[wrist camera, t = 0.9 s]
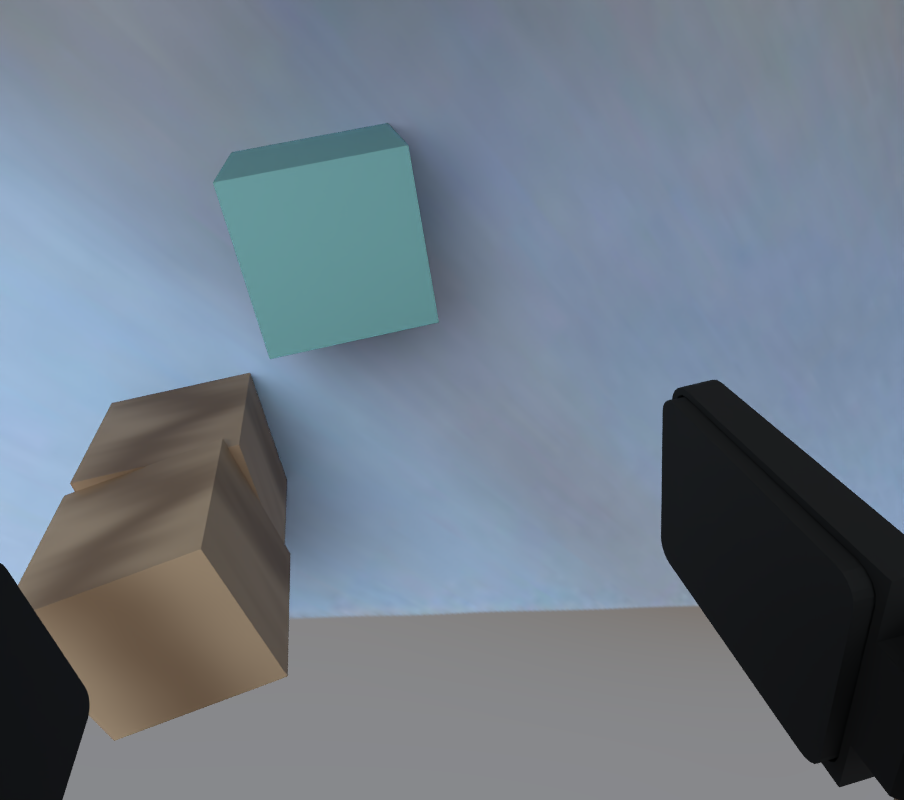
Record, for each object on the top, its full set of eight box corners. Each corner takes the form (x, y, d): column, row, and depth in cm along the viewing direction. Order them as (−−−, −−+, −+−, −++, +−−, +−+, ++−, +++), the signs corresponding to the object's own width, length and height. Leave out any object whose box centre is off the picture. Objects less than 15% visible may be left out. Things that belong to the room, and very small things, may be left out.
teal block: (387, 122, 26) (408, 145, 21) (414, 270, 29) (438, 322, 24) (231, 151, 25) (213, 182, 20) (276, 299, 28) (270, 359, 23)
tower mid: (222, 438, 24) (200, 549, 19) (290, 553, 27) (287, 676, 22) (64, 495, 24) (-2, 623, 19) (150, 605, 27) (114, 740, 22)
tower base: (250, 372, 29) (238, 444, 24) (287, 480, 32) (283, 564, 27) (111, 403, 29) (70, 483, 24) (162, 509, 32) (135, 601, 27)
